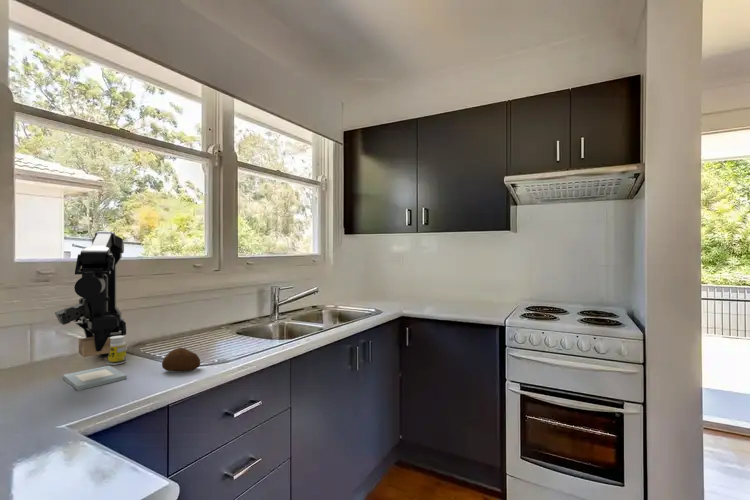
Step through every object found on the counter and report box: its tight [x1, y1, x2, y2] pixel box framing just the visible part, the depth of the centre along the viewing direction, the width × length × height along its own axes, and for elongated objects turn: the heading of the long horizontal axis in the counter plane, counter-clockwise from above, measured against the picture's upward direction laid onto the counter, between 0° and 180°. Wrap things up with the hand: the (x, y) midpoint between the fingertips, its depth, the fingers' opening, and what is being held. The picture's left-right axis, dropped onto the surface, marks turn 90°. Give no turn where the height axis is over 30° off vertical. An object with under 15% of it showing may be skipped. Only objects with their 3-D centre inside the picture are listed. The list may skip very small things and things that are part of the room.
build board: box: [62, 365, 127, 391], centre depth 104 cm, size 14×11×1 cm
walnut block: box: [78, 337, 111, 358], centre depth 104 cm, size 6×6×4 cm
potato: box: [161, 347, 201, 373], centre depth 111 cm, size 7×10×7 cm
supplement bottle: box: [107, 335, 127, 366], centre depth 118 cm, size 5×5×8 cm
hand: (95, 349), depth 104 cm, fingers closed on walnut block, 6 cm apart
